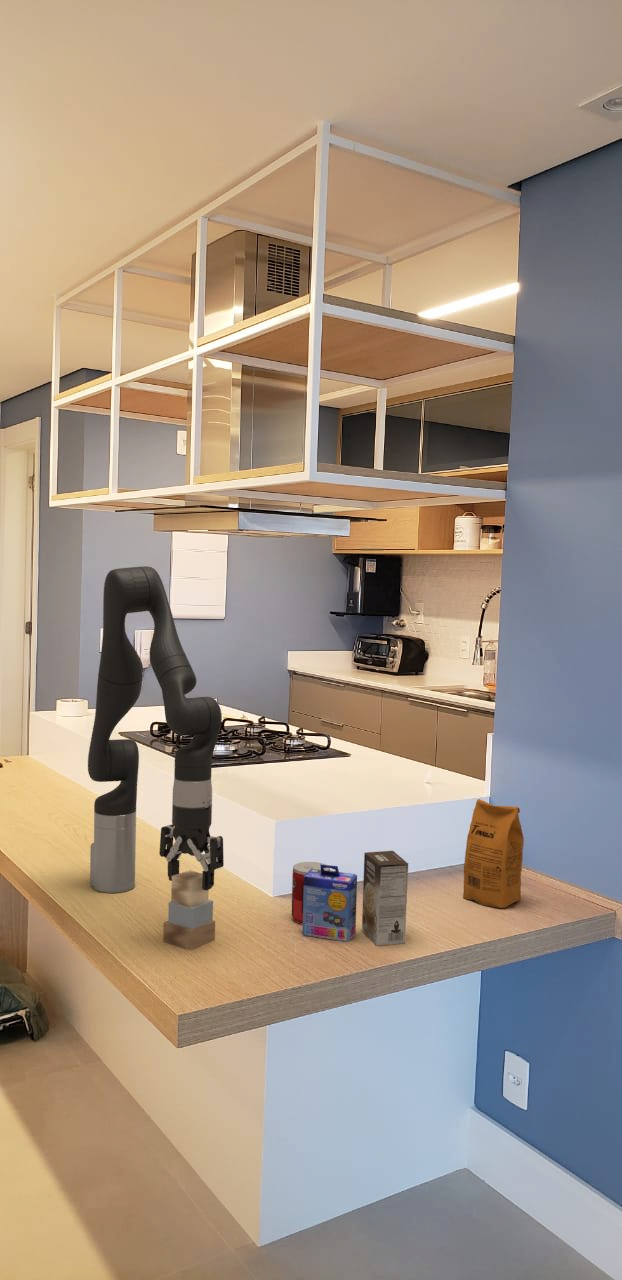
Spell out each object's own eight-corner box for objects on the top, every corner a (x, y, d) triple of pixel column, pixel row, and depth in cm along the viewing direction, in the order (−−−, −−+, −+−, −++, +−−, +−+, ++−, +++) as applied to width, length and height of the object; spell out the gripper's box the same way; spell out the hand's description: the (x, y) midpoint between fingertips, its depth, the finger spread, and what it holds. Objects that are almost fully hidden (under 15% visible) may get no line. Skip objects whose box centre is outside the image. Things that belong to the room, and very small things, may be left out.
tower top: (168, 923, 191) (168, 902, 191) (188, 914, 196) (189, 894, 196) (192, 929, 188) (192, 909, 187) (212, 921, 193) (213, 900, 192)
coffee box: (360, 929, 201) (362, 851, 200) (390, 927, 203) (392, 849, 202) (376, 946, 192) (378, 864, 191) (407, 943, 194) (409, 862, 193)
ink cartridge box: (300, 936, 196) (302, 863, 195) (308, 927, 202) (310, 856, 201) (349, 942, 194) (351, 869, 193) (356, 933, 199) (358, 861, 198)
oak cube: (171, 901, 191) (171, 875, 191) (189, 895, 195) (189, 870, 195) (190, 907, 188) (191, 881, 188) (208, 900, 192) (208, 875, 192)
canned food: (307, 910, 212) (308, 859, 211) (336, 919, 207) (338, 867, 206) (283, 919, 206) (284, 866, 205) (313, 928, 201) (314, 875, 200)
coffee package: (481, 888, 230) (485, 794, 228) (527, 902, 221) (531, 804, 220) (454, 897, 223) (458, 800, 222) (501, 912, 214) (505, 811, 213)
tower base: (163, 943, 191) (163, 922, 191) (187, 932, 197) (188, 913, 197) (190, 951, 187) (191, 930, 187) (214, 941, 193) (215, 920, 193)
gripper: (151, 799, 191) (149, 881, 192) (207, 811, 183) (205, 897, 184) (177, 792, 197) (176, 872, 199) (233, 803, 189) (231, 887, 190)
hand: (190, 884), depth 191 cm, fingers open, 8 cm apart
